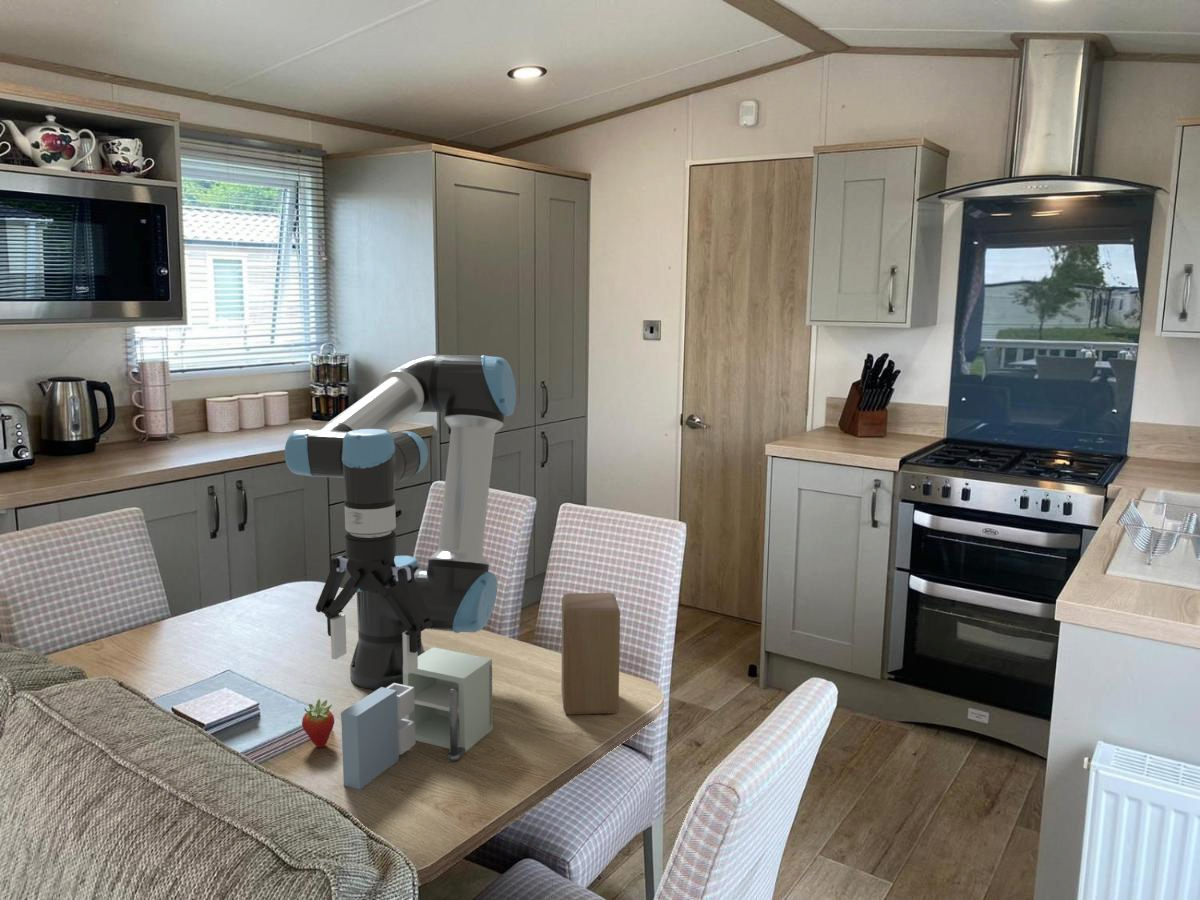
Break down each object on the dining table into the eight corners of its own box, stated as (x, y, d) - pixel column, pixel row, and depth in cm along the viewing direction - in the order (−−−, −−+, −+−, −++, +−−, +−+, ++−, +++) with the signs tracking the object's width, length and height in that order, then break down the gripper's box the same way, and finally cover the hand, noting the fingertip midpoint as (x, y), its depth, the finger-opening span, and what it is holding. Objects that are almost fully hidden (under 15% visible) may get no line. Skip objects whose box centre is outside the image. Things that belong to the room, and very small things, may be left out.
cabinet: (404, 737, 159) (402, 665, 157) (434, 716, 167) (432, 647, 165) (464, 752, 154) (464, 678, 152) (492, 729, 162) (492, 658, 160)
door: (341, 784, 144) (338, 711, 142) (395, 744, 157) (393, 677, 155) (362, 790, 143) (359, 716, 140) (415, 749, 155) (414, 681, 153)
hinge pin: (445, 760, 152) (444, 690, 150) (457, 750, 155) (456, 682, 153) (456, 762, 151) (454, 692, 149) (467, 753, 154) (466, 684, 152)
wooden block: (561, 692, 177) (561, 591, 174) (613, 691, 178) (615, 591, 175) (563, 716, 168) (564, 610, 164) (619, 715, 168) (620, 609, 165)
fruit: (305, 756, 152) (303, 710, 151) (301, 742, 157) (299, 697, 156) (337, 750, 154) (335, 705, 153) (332, 736, 159) (331, 692, 158)
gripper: (289, 527, 144) (294, 658, 147) (425, 547, 134) (427, 686, 138) (321, 517, 151) (326, 642, 154) (453, 535, 141) (455, 668, 144)
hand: (374, 663), depth 146 cm, fingers open, 13 cm apart
